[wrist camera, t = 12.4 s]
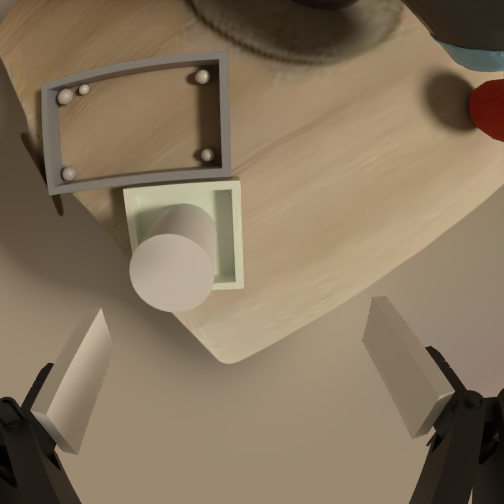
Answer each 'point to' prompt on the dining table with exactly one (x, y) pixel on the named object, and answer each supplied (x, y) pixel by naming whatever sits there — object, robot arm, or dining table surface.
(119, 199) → the dining table surface
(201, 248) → the cup
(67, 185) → the gravel bin
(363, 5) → the dining table surface
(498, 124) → the apple
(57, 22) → the dining table surface
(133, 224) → the sage tray
